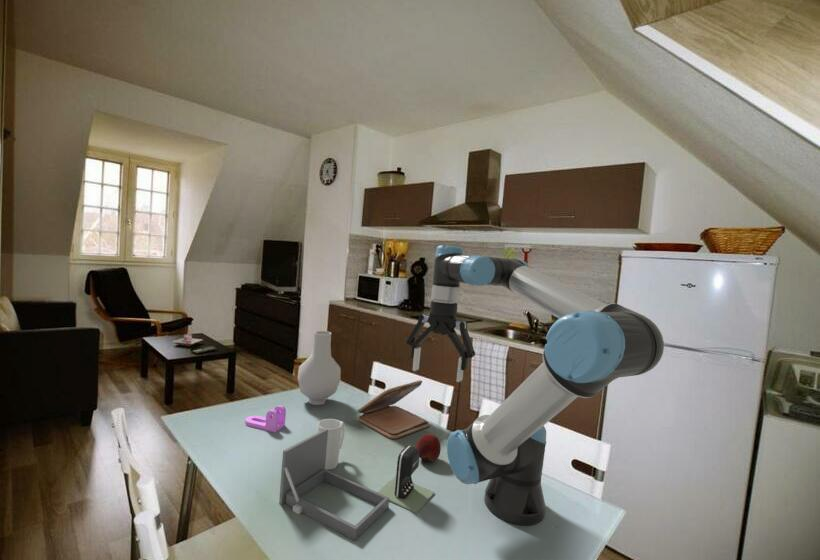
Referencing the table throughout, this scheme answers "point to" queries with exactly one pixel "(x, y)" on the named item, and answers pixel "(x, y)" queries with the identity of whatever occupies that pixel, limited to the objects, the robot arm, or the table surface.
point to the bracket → (269, 420)
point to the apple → (428, 447)
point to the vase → (319, 371)
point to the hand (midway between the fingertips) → (436, 375)
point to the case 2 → (392, 413)
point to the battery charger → (406, 471)
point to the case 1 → (308, 470)
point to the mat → (412, 501)
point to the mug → (332, 440)
